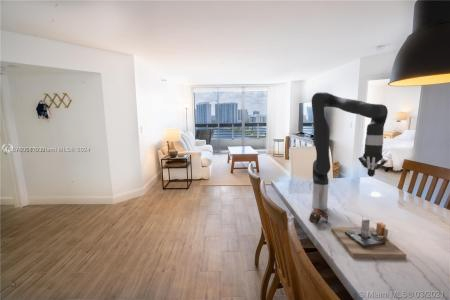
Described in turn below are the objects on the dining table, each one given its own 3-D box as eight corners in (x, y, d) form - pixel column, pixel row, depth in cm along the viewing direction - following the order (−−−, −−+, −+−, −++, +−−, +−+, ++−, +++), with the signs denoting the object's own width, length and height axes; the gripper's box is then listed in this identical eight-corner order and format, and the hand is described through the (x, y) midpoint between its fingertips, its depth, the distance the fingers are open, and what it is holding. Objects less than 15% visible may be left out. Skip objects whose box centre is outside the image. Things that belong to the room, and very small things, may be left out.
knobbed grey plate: (372, 230, 108) (373, 218, 107) (393, 243, 96) (394, 229, 95) (344, 233, 105) (345, 220, 104) (362, 247, 94) (364, 233, 93)
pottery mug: (308, 216, 129) (316, 206, 128) (323, 227, 125) (331, 216, 124) (305, 220, 119) (313, 208, 118) (321, 231, 115) (330, 219, 113)
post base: (330, 230, 112) (331, 209, 111) (373, 230, 111) (375, 209, 109) (352, 257, 91) (354, 232, 89) (405, 258, 89) (408, 232, 87)
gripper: (356, 143, 111) (354, 174, 114) (386, 145, 100) (383, 180, 103) (362, 142, 115) (360, 172, 118) (392, 144, 105) (388, 177, 107)
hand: (370, 176), depth 110 cm, fingers closed
